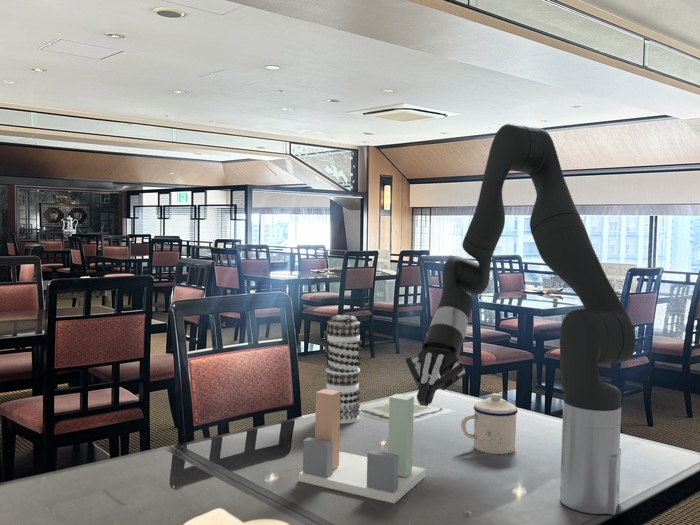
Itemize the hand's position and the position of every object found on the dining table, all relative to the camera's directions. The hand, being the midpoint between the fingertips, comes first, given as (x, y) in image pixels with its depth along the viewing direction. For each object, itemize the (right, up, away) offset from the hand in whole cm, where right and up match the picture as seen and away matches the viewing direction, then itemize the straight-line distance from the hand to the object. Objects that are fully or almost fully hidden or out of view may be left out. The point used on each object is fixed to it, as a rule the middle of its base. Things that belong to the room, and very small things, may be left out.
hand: (422, 403), depth 129 cm
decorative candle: (-16, -10, +31) cm, 37 cm away
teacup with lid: (+15, -12, +11) cm, 22 cm away
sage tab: (-5, -11, -9) cm, 15 cm away
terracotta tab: (-19, -10, -6) cm, 22 cm away
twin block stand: (-12, -12, -8) cm, 19 cm away
